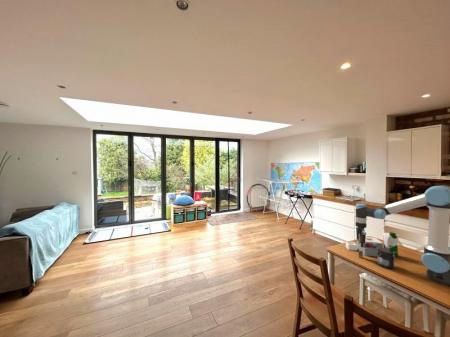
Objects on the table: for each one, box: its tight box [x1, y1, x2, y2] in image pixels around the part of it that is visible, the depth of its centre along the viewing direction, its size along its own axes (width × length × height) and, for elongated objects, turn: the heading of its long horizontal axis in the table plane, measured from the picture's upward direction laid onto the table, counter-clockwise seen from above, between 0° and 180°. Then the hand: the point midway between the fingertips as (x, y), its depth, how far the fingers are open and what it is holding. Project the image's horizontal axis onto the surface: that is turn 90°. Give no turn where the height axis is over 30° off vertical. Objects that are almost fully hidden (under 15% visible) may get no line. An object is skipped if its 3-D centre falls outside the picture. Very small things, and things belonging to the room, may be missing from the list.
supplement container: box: [376, 247, 396, 270], centre depth 143 cm, size 10×10×12 cm
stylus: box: [358, 234, 364, 259], centre depth 156 cm, size 3×3×20 cm
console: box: [356, 236, 384, 258], centre depth 165 cm, size 16×14×12 cm
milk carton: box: [382, 231, 400, 258], centre depth 161 cm, size 9×9×20 cm
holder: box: [345, 241, 358, 251], centre depth 173 cm, size 7×7×5 cm
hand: (360, 249), depth 156 cm, fingers closed on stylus, 3 cm apart
